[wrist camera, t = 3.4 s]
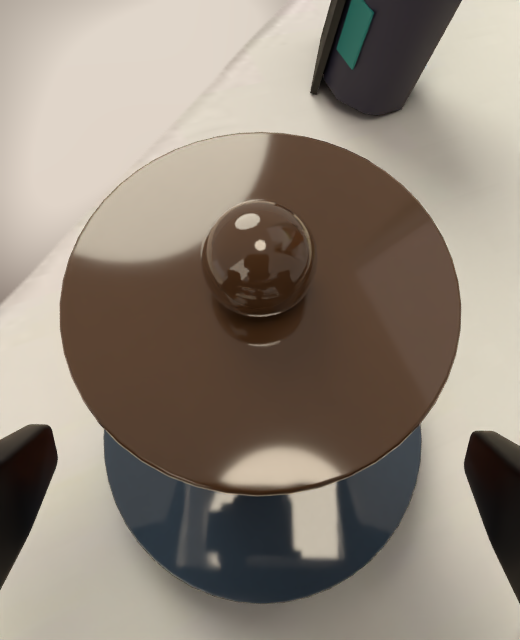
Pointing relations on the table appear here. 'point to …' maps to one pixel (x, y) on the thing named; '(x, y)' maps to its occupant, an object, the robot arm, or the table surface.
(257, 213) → the canister
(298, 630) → the table surface
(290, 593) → the slate plate
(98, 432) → the table surface
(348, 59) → the speaker
